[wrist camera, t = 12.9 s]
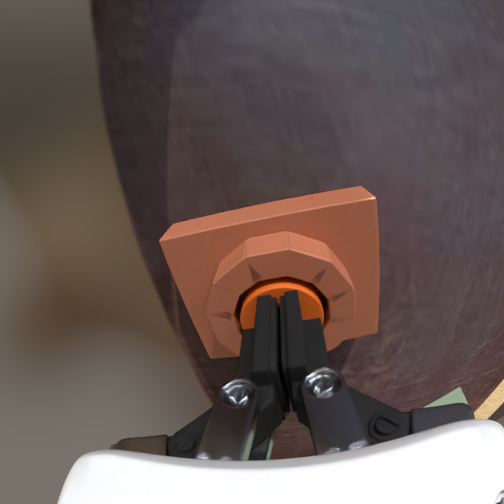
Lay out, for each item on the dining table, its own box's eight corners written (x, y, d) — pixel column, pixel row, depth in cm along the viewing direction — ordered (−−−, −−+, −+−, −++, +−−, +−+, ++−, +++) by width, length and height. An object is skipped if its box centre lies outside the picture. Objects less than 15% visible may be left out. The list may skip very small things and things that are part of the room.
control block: (215, 335, 18) (205, 382, 14) (172, 223, 14) (142, 258, 11) (367, 310, 16) (386, 355, 13) (361, 185, 13) (392, 210, 9)
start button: (253, 330, 14) (251, 354, 13) (234, 272, 13) (229, 295, 11) (321, 319, 14) (326, 343, 12) (313, 258, 12) (320, 279, 11)
